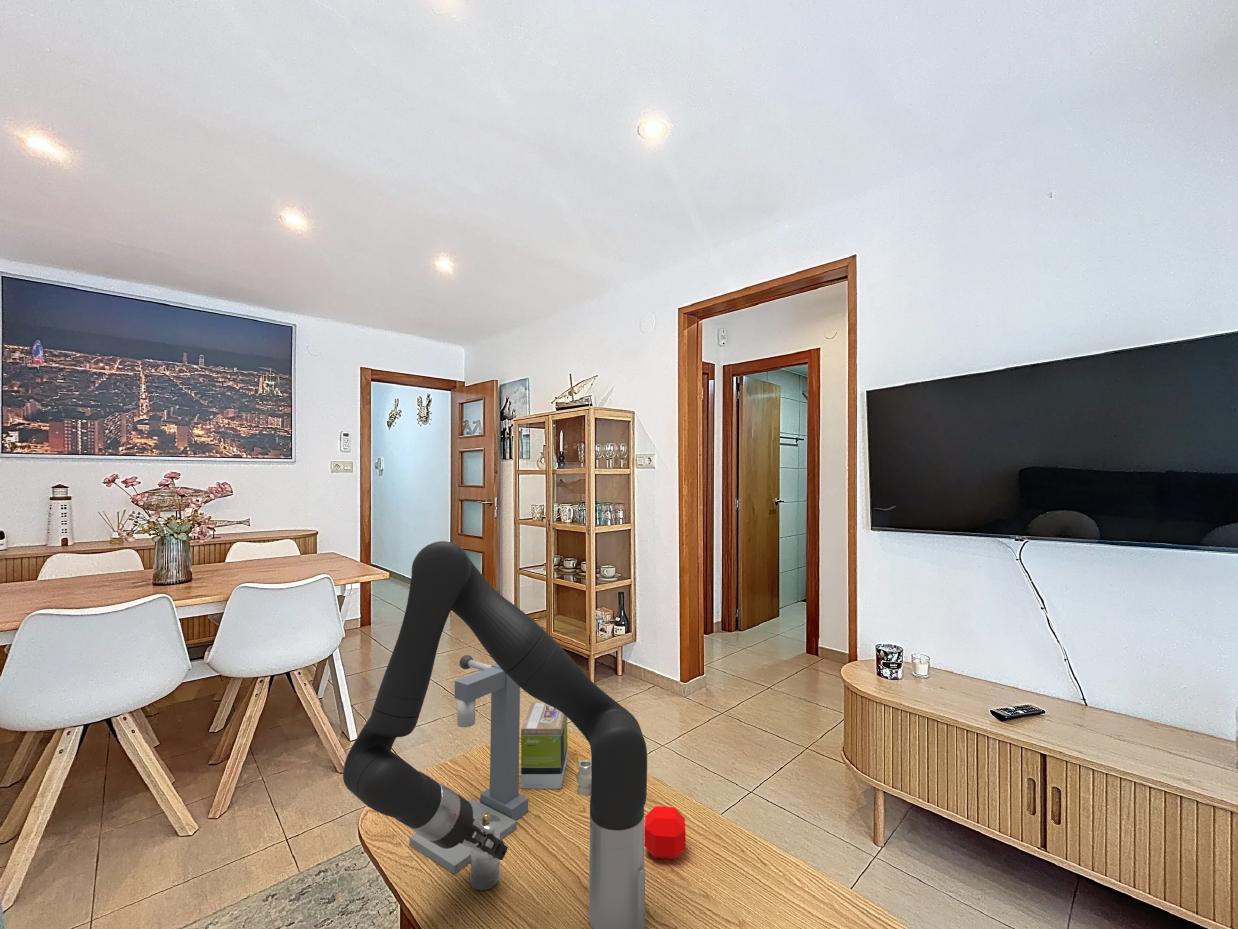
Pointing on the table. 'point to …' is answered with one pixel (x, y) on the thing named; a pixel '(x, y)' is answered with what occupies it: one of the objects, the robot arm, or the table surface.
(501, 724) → the press
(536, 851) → the table surface
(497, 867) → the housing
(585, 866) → the table surface
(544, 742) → the tea box
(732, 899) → the table surface
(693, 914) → the table surface
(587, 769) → the valve
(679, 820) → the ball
